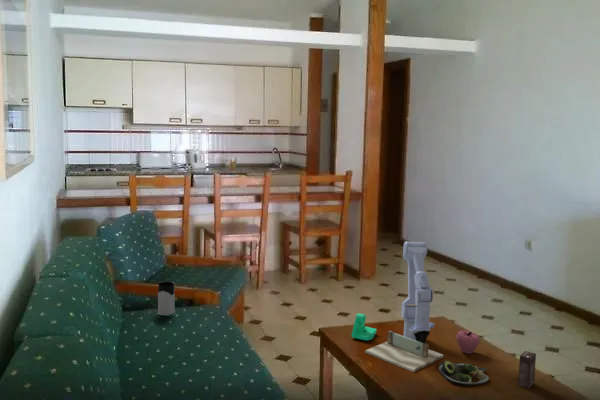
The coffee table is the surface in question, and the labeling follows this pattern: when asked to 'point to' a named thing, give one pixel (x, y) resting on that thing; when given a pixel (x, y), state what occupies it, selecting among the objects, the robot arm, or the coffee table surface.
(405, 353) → the door frame board
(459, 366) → the salad plate
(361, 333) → the camera mount
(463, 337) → the apple
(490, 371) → the coffee table surface
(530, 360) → the box
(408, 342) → the door
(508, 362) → the coffee table surface
